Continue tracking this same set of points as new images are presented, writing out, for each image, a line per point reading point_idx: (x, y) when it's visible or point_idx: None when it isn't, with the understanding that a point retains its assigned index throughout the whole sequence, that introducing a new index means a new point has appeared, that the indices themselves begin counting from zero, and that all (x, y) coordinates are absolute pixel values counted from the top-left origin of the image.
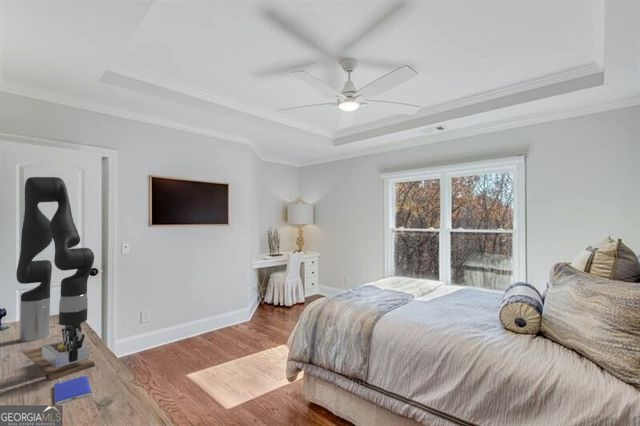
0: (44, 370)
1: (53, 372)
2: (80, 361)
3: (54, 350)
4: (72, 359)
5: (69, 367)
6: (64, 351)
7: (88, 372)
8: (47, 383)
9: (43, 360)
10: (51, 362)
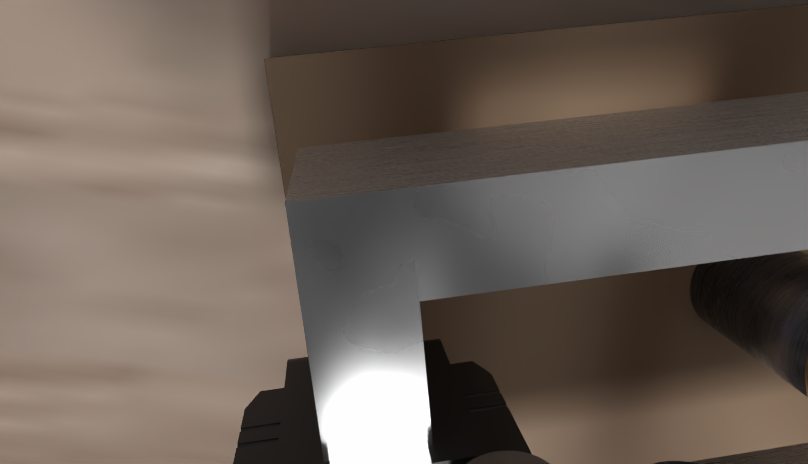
0: (595, 36)
1: (401, 120)
2: (536, 447)
3: (733, 228)
4: (251, 415)
5: (426, 314)
6: (805, 368)
7: (183, 452)
8: (184, 10)
9: None
10: (555, 125)
